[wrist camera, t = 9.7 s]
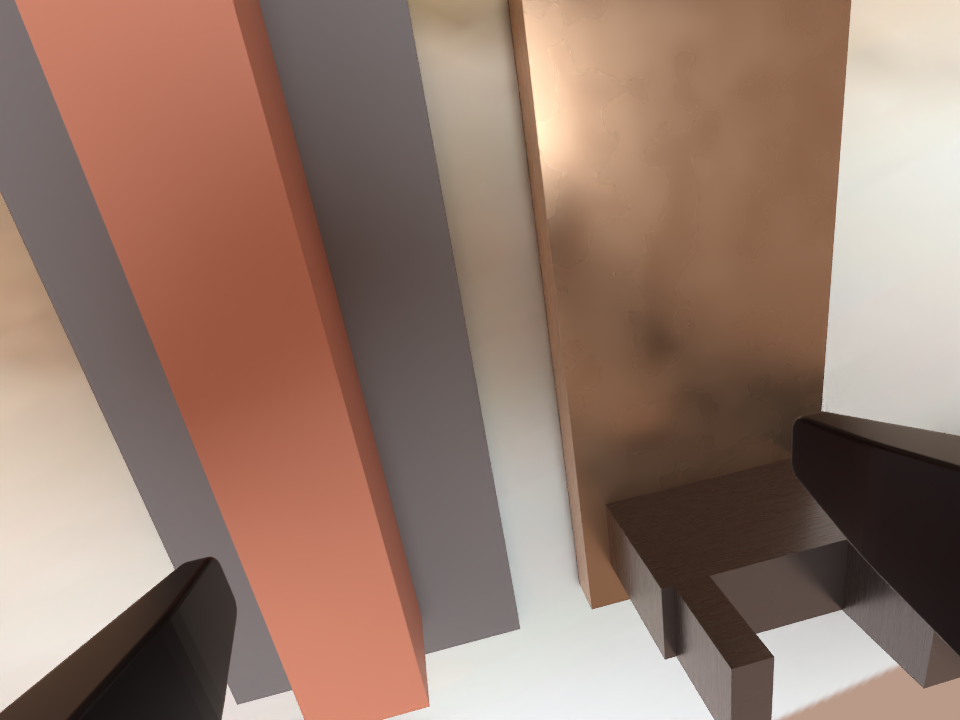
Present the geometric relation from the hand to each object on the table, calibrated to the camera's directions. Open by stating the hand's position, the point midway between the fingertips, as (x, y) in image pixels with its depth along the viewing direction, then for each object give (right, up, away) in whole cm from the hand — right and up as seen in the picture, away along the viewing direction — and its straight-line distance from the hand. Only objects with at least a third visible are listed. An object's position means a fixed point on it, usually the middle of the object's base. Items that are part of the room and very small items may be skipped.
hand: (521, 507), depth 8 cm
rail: (-7, +3, +9) cm, 12 cm away
